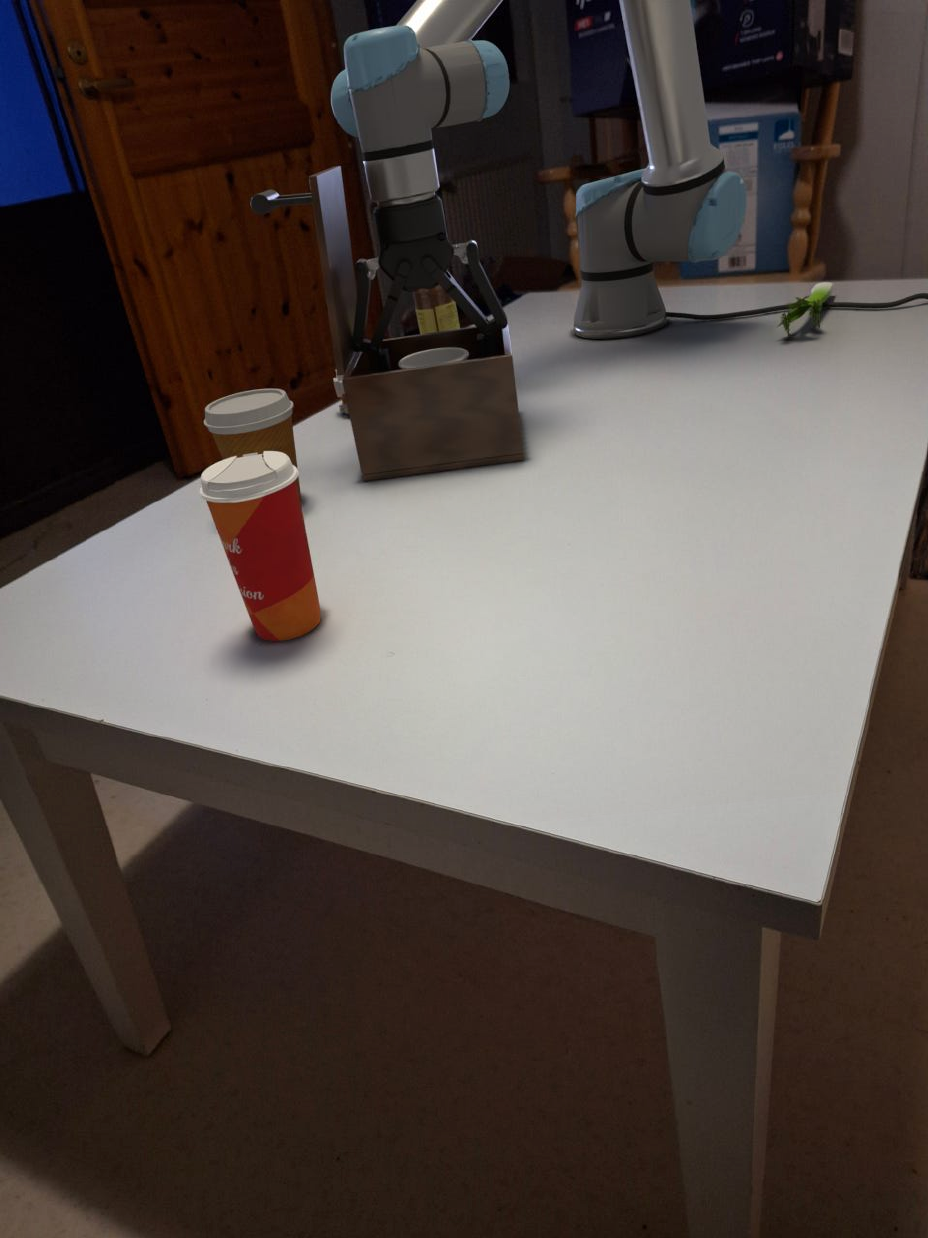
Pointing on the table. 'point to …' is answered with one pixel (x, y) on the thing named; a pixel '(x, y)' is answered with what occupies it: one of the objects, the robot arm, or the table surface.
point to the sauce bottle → (435, 310)
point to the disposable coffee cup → (253, 424)
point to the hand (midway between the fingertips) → (441, 398)
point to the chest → (434, 407)
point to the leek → (808, 305)
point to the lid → (327, 253)
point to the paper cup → (265, 541)
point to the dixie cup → (433, 357)
